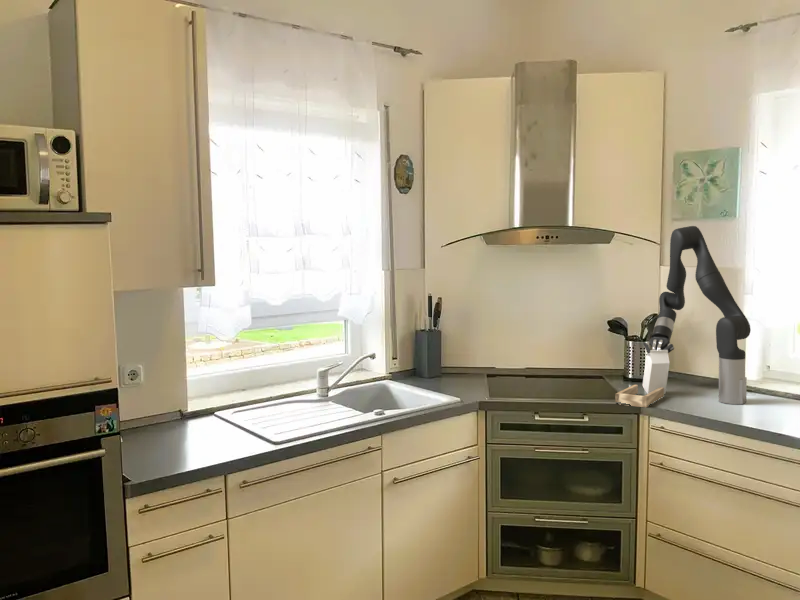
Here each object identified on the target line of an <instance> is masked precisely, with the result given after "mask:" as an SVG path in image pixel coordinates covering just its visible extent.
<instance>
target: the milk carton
mask: <svg viewBox="0 0 800 600" xmlns="http://www.w3.org/2000/svg"><path fill="white" fill-rule="evenodd" d="M669 357H670V355H669V353H668V350H652V349H650V353H649V354H648V353H647V354H646V357H645V364H644V370H643V371H644V372H643V378H642V387H643V389H644V391H645V392H646V395H647V394H648V393H650V392H652V391H654V390H656V389H658V388H660V387H663V388H664V394H665V395H666V390H667V383H668V377H669V370H670V363H671V362H670V358H669Z"/></svg>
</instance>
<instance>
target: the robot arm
mask: <svg viewBox="0 0 800 600" xmlns="http://www.w3.org/2000/svg"><path fill="white" fill-rule="evenodd" d="M669 241H670V243H669V244H670V245H669V272H668V276H667V280H666V289H667V290H668V291H663V292H662V293H660V295H659V299H658V305H659V312H658V317H657V319H656V322H655V324H654V327H653V330H652V333H651V338H650V339H649V340H648V342H643V343H642V346H643V347H644V349H645V350H646V352H647V354H649V353H650V350H668V354H669V353H671V352H672V351H674V349H675V347H674V344H672V343H671V338H672V335H673V332H674V328H675V327H674V326H675V322H676V318H677V312H676V311H681V310H682V309H683V308H684V307H685V304H686V298H685V292H684V291H685V283H686V279H687V270H686V267H685V266H684V263H683V261H682V258H681V257H682V254H683V251H686V250H691V249H692V250H693V252H694V254H695V257H696V261H697V263H696V269H695V277H694V278H695V281H696V283H697V285H698V287H699V289H700V291H701V292H702V294H703V295H704V297H706V299H708V300H709V301H710V302H711V303H712V304H714V306H716V307H717V308H718V309H719V310H720V311H721V313H722V315H723V316H724V317H721V318H719V320H718V321H717V323H716V327H715V341H716V349H717V352H718V402H720V403H723V404H728V405H729V404H730V405H744V404H745V403H746V402H747V384H748V383H747V381H748V380H747V377H746V351H745V350H744V349H741V348H740V347H739V346H738V341H739V340H745V339H747V338H748V337H749V336H750V333H751V323H750V322H749V320H748V318H747V317H746V315H745V314H744V311H742V309H741V308H740V306H739V305H738V303H737V301H736V300H735V298H734V297H733V294H732V293H731V291H730V288H728V285H727V283H726V282H725V279H724V277H723V276H722V274H721V272H720V270H719V269H718V267H717V265H716V263H715V261H714V259H713V257H712V255H711V253H710V251H709V250H710V249H709V248H708V245H707V243H706V242H707V241H706V239H705V238H704V235H703V233H702V231H701V229H700V228H699V227H697V226H696V225H691V226H689V225H688V226H684V227H683V226H682V227H680V228H679V227H678V228H675V229H674V230H673V231H672V232H671V235H670V240H669ZM675 310H676V311H675ZM650 347H651V348H652V349H650Z"/></svg>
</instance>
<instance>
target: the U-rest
mask: <svg viewBox="0 0 800 600" xmlns="http://www.w3.org/2000/svg"><path fill="white" fill-rule="evenodd" d="M638 385H639V384H632V385H630V386H629V387H628V386H627V388H625V389H622V390H620V391H618V392H615V393H614V394H615V395H614V397H615V402H621V403H626V404H630V405H631V407H638V408H640V407H641V408H648V407H649V406H648V405H650V404H651V403H653V402H654V401H656V400H658V399H659V398H661V397H663V396H665V395H664V388H663V387H660V388H658V389H656V390H654V391H652V392H650V393H648V394H647V393H646V394H645V395H639V386H638ZM637 393H638V395H635V394H637ZM658 401H659V400H658ZM653 404H654V403H653ZM650 406H651V405H650Z"/></svg>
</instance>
